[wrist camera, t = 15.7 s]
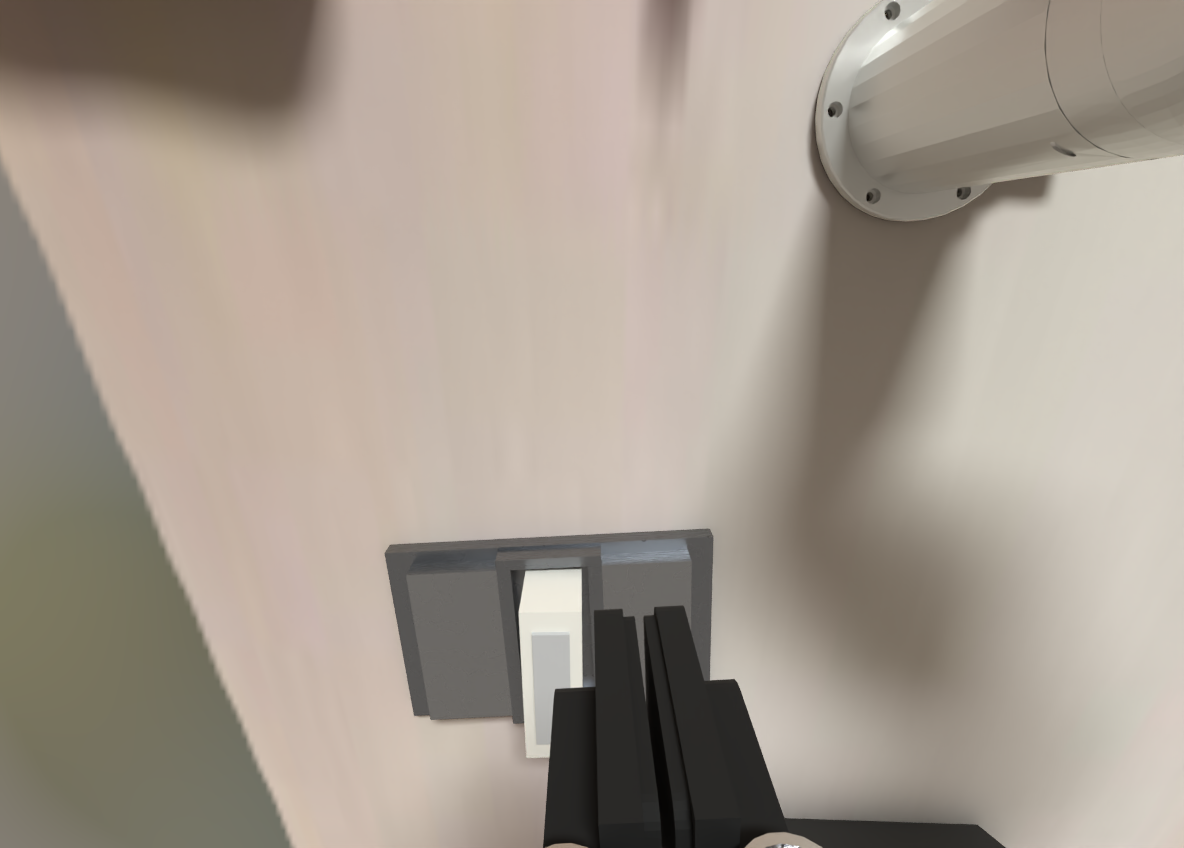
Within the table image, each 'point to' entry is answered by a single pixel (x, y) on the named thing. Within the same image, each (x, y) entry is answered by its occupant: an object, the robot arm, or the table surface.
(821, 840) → the video game console
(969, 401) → the table surface
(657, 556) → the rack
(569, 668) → the blanking panel
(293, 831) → the table surface
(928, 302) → the table surface
